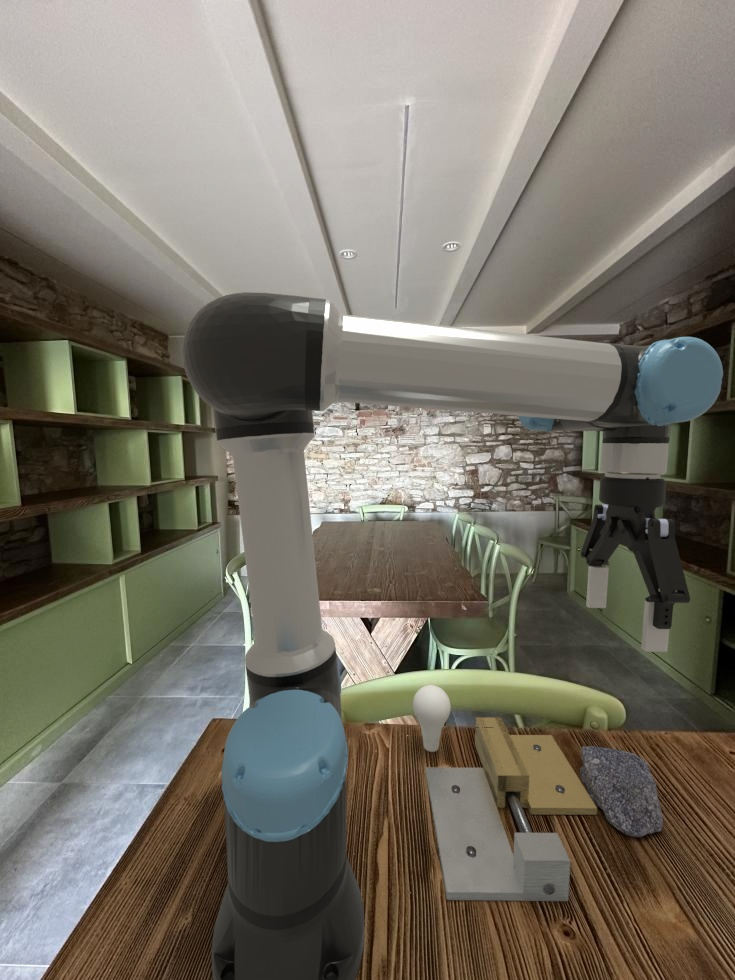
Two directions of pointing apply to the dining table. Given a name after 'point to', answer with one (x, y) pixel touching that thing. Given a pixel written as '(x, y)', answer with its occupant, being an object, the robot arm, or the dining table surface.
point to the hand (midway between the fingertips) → (621, 626)
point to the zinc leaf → (491, 844)
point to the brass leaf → (530, 771)
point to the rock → (622, 789)
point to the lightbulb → (431, 714)
